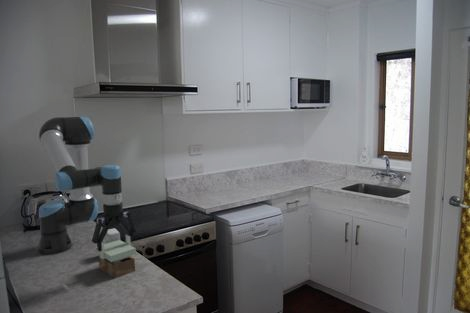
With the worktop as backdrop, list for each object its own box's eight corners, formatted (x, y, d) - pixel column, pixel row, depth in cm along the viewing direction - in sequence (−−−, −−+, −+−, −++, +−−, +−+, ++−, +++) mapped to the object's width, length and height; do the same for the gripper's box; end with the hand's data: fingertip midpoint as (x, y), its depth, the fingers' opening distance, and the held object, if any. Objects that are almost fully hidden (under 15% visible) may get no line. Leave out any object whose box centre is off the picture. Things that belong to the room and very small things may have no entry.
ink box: (122, 257, 166) (120, 232, 164) (111, 259, 163) (109, 234, 162) (117, 251, 173) (115, 227, 172) (106, 253, 170) (104, 229, 169)
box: (99, 269, 153) (98, 256, 152) (119, 263, 159) (118, 250, 158) (114, 280, 143) (113, 265, 142) (135, 272, 149) (134, 258, 149)
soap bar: (109, 268, 152) (108, 261, 151) (118, 265, 155) (117, 259, 154) (115, 273, 148) (115, 266, 147) (124, 269, 150) (124, 263, 150)
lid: (95, 254, 152) (95, 246, 151) (120, 247, 159) (119, 239, 159) (111, 264, 142) (110, 256, 141) (136, 256, 149) (135, 248, 149)
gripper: (88, 210, 137) (91, 265, 140) (142, 199, 153) (145, 248, 156) (80, 206, 142) (84, 259, 145) (133, 196, 158) (136, 243, 161)
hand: (115, 253), depth 150 cm, fingers closed on lid, 11 cm apart
